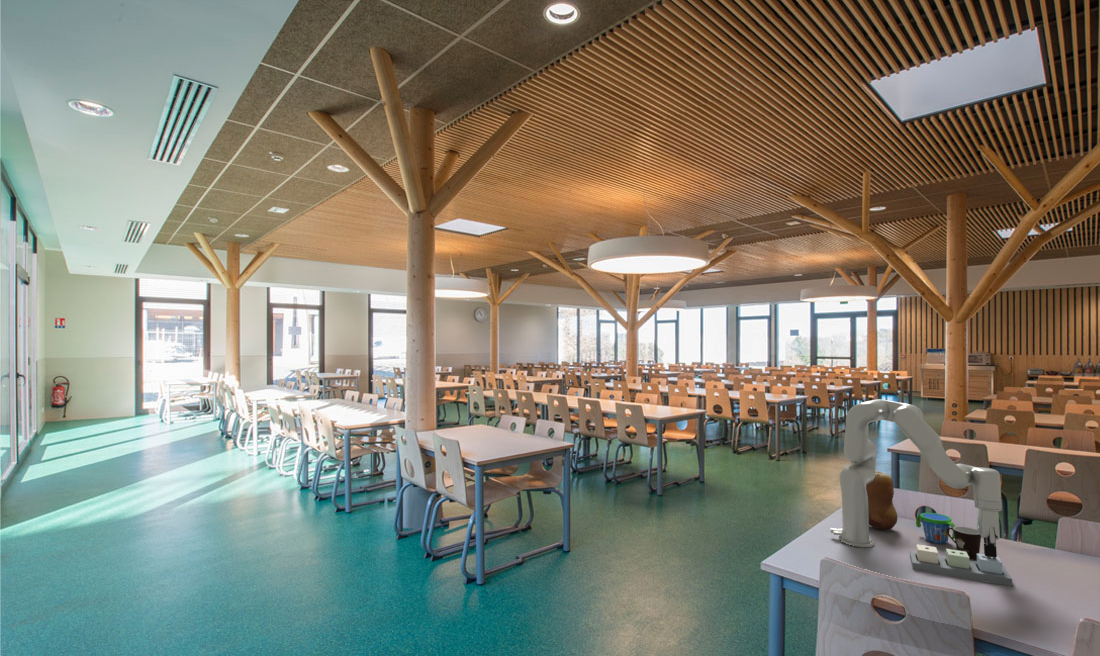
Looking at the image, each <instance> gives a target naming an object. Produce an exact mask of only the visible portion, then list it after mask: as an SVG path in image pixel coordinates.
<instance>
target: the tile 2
mask: <svg viewBox="0 0 1100 656" xmlns="http://www.w3.org/2000/svg"><path fill="white" fill-rule="evenodd" d="M976 562H977V565H978V567H979V569H980V571H985V572H991V573H997V574H1002V566H1003V561H1002V559H1000V557H999V556H998V555H997V557H996V558H994V557H986V556H985V554H984V553H979V554H978V553H977V560H976Z"/></svg>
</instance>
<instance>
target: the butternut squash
mask: <svg viewBox="0 0 1100 656" xmlns="http://www.w3.org/2000/svg"><path fill="white" fill-rule="evenodd" d="M894 488H895V487H894V481H893V478H892V477H891V476H890V475H889V474H887V473H885V472H882V471H878V470H875V477H874V480H873V481H872V482H871V483H870V484H868V485H866V491H867V496H868V513H869V527H870V526H871V527H872V528H874V529H875V530H877V529H878V530H879V531H882V530H883V531H889V530H891V529H893V528H894V527H895V526H896V525H897V523H898V513H897V510H896V507H895V505H894V503H893V498H894V495H895V492H894ZM883 531H882V532H883Z"/></svg>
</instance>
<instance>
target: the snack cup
mask: <svg viewBox="0 0 1100 656" xmlns="http://www.w3.org/2000/svg"><path fill="white" fill-rule="evenodd" d="M915 521H916V522H915V525H916V527H917V528H921V527H923V533H924V538H925V540H926V541H928V542H930V543H934V544H944V545H945V544H947V543H948V541H949V538H950V537H949V535H948V534H947V529H948V528H954V527H956V526H955V524H954V523H953V521H952V517H950V516H948V515H946V514H941V513H937V512H936V513H935V512H922V513H920V514H918V515H917V517H916V519H915ZM921 522H922V524H921ZM951 530H952V529H951ZM951 532H952V535H951V537H952V538H953V539H954V540H955V536H954V531H953V530H952V531H951Z"/></svg>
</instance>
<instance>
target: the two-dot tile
mask: <svg viewBox="0 0 1100 656" xmlns="http://www.w3.org/2000/svg"><path fill="white" fill-rule="evenodd" d="M945 557H946V560H947V563H948V565H949V566H954V567H960V568H966V569H970V562H969V560H970V559H969V556H968V554H967V552H965V551H958V550H957V549H950V548H945Z"/></svg>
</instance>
